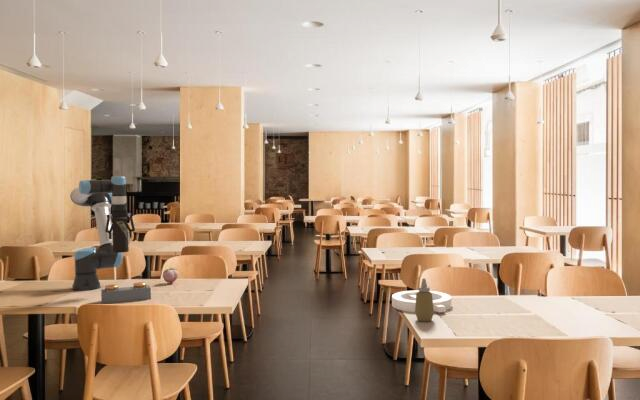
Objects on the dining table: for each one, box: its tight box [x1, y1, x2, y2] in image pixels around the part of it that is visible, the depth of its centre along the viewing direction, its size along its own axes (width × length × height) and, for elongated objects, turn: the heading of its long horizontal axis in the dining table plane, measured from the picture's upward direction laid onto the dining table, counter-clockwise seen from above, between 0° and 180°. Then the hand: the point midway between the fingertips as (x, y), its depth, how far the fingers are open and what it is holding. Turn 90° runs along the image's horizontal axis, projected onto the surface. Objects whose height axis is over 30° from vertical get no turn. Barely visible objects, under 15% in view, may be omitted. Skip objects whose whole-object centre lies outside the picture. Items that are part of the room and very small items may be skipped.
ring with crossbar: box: [391, 289, 452, 313], centre depth 259 cm, size 28×28×5 cm
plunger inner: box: [104, 284, 119, 291], centre depth 281 cm, size 6×6×7 cm
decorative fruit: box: [162, 267, 179, 284], centre depth 328 cm, size 9×8×10 cm
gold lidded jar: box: [132, 281, 147, 289], centre depth 286 cm, size 6×6×7 cm
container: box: [111, 216, 129, 253], centre depth 302 cm, size 9×9×20 cm
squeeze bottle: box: [414, 278, 435, 323], centre depth 232 cm, size 8×8×18 cm
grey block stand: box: [100, 284, 152, 304], centre depth 284 cm, size 24×8×6 cm, turn 114°
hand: (120, 244), depth 303 cm, fingers closed on container, 8 cm apart
